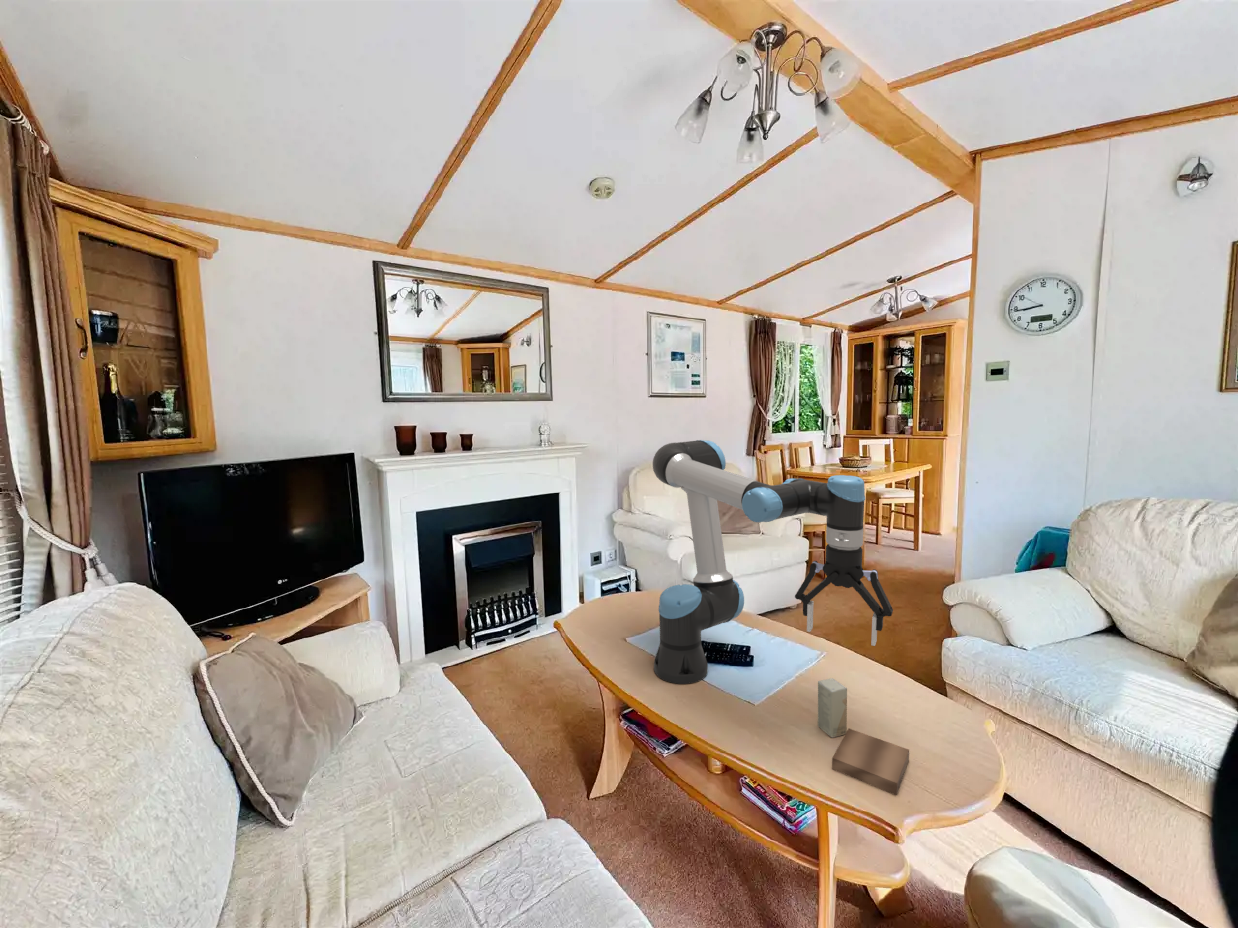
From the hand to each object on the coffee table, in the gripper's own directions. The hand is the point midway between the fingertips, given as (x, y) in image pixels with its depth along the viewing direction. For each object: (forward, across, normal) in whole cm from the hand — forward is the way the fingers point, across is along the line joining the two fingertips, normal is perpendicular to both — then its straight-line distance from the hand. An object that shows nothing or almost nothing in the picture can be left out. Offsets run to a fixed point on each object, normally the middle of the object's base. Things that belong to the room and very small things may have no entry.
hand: (840, 636), depth 118 cm
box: (+22, -1, -2) cm, 22 cm away
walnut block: (+22, +8, -10) cm, 26 cm away
